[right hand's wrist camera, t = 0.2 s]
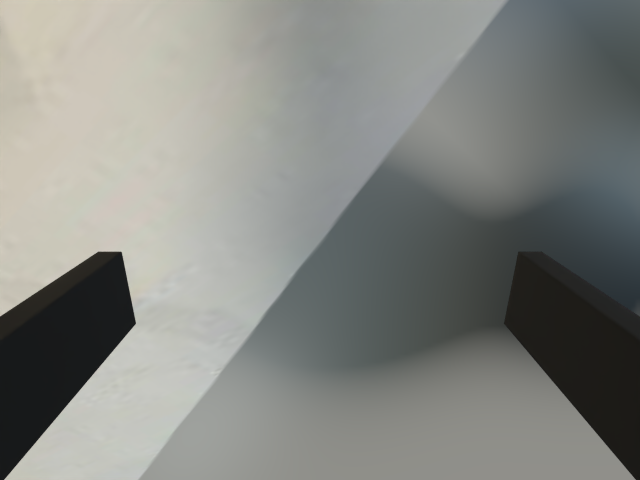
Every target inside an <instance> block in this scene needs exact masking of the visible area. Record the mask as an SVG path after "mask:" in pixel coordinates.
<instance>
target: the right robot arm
mask: <svg viewBox="0 0 640 480" xmlns="http://www.w3.org/2000/svg"><path fill="white" fill-rule="evenodd" d="M135 324H136V322H135V317H134V312H133V307H132V302H131V296H130V291H129V286H128V281H127V276H126V271H125V266H124V261H123V256H122V252H97V253H96V254H94V255H93V256H91V257H90V258H88V259H87V260H85V261H84V262H82V263H81V264H79V265H78V266H76V267H75V268H73V269H72V270H70V271H69V272H67V273H66V274H64V275H62V276H61V277H59V278H58V279H56V280H55V281H53V282H52V283H50V284H49V285H47V286H46V287H44V288H43V289H41V290H40V291H38V292H37V293H35V294H34V295H32V296H31V297H29V298H28V299H26V300H25V301H23V302H22V303H20V304H19V305H17V306H16V307H14V308H12V309H11V310H9V311H8V312H6V313H5V314H3V315H2V316H0V480H4V479H5V478H6V477H7V476H8V474H9V473H10V472H11V471H12V470H13V469H14V467H15V466H16V465H17V464H18V463H19V461H20V460H21V459H22V458H23V457H24V456H25V454H26V453H27V452H28V451H29V450H30V448H31V447H32V446H33V445H34V444H35V442H36V441H37V440H38V439H39V438H40V437H41V435H42V434H43V433H44V432H45V431H46V429H47V428H48V427H49V426H50V425H51V424H52V422H53V421H54V420H55V419H56V418H57V416H58V415H59V414H60V413H61V412H62V410H63V409H64V408H65V407H66V406H67V405H68V403H69V402H70V401H71V400H72V399H73V397H74V396H75V395H76V394H77V393H78V392H79V390H80V389H81V388H82V387H83V386H84V384H85V383H86V382H87V381H88V380H89V379H90V377H91V376H92V375H93V374H94V373H95V371H96V370H97V369H98V368H99V367H100V365H101V364H102V363H103V362H104V361H105V360H106V358H107V357H108V356H109V355H110V354H111V352H112V351H113V350H114V349H115V348H116V347H117V345H118V344H119V343H120V342H121V341H122V339H123V338H124V337H125V336H126V335H127V334H128V332H129V331H130V330H131V329H132V328H133V326H134V325H135ZM504 324H505V325H506V326H507V328H508V329H509V330H510V331H511V332H512V333H513V335H514V336H515V337H516V338H517V339H518V341H519V342H520V343H521V344H522V345H523V347H524V348H525V349H526V350H527V351H528V352H529V354H530V355H531V356H532V357H533V358H534V360H535V361H536V362H537V363H538V364H539V365H540V367H541V368H542V369H543V370H544V371H545V373H546V374H547V375H548V376H549V377H550V378H551V380H552V381H553V382H554V383H555V384H556V386H557V387H558V388H559V389H560V390H561V392H562V393H563V394H564V395H565V396H566V397H567V399H568V400H569V401H570V402H571V403H572V405H573V406H574V407H575V408H576V409H577V410H578V412H579V413H580V414H581V415H582V416H583V418H584V419H585V420H586V421H587V422H588V424H589V425H590V426H591V427H592V428H593V429H594V431H595V432H596V433H597V434H598V435H599V437H600V438H601V439H602V440H603V441H604V442H605V444H606V445H607V446H608V447H609V448H610V450H611V451H612V452H613V453H614V454H615V455H616V457H617V458H618V459H619V460H620V461H621V463H622V464H623V465H624V466H625V467H626V469H627V470H628V471H629V472H630V473H631V474H632V476H633V477H634V478H635V479H636V480H640V316H638V315H637V314H635V313H634V312H632V311H631V310H629V309H628V308H626V307H624V306H623V305H621V304H620V303H618V302H617V301H615V300H614V299H612V298H611V297H609V296H608V295H606V294H605V293H603V292H602V291H600V290H599V289H597V288H596V287H594V286H593V285H591V284H590V283H588V282H587V281H585V280H584V279H582V278H581V277H579V276H578V275H576V274H574V273H573V272H571V271H570V270H568V269H567V268H565V267H564V266H562V265H561V264H559V263H558V262H556V261H555V260H553V259H552V258H550V257H549V256H547V255H546V254H544V253H543V252H518V256H517V261H516V266H515V271H514V276H513V281H512V286H511V291H510V297H509V302H508V307H507V312H506V317H505V322H504Z"/></svg>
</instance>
